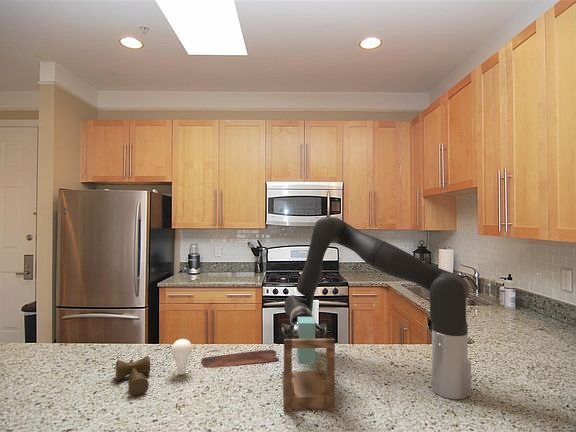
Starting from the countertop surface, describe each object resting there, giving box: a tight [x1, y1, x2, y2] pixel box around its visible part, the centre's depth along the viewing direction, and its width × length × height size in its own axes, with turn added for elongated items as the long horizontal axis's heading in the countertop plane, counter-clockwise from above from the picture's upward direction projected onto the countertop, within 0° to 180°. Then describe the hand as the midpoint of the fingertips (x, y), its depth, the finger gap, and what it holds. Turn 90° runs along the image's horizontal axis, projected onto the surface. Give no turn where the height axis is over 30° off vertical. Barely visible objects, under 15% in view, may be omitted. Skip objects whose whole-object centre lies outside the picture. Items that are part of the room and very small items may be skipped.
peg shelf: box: [281, 337, 336, 413], centre depth 95 cm, size 13×16×18 cm
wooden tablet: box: [200, 349, 280, 369], centre depth 119 cm, size 26×2×10 cm
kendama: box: [115, 355, 151, 397], centre depth 102 cm, size 6×10×20 cm
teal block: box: [296, 316, 316, 365], centre depth 95 cm, size 4×6×11 cm
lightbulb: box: [171, 338, 193, 376], centre depth 107 cm, size 6×6×11 cm
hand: (307, 339), depth 93 cm, fingers closed on teal block, 4 cm apart
